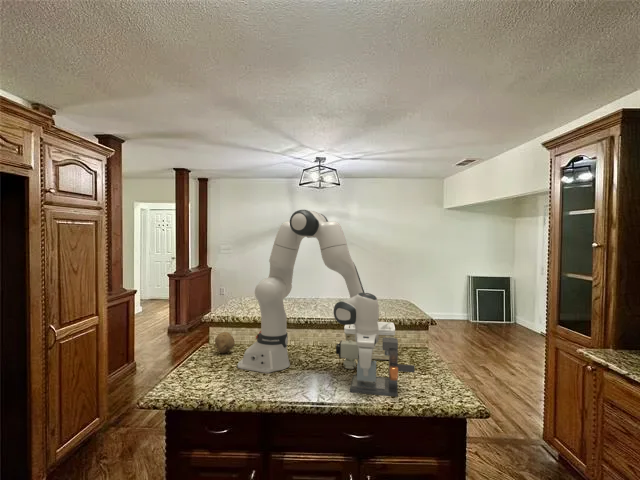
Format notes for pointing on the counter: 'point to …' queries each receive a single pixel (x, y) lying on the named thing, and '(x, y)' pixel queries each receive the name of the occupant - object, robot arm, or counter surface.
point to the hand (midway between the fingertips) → (366, 372)
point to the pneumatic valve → (348, 353)
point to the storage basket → (384, 332)
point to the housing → (371, 372)
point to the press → (383, 383)
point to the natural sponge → (224, 342)
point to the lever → (393, 373)
